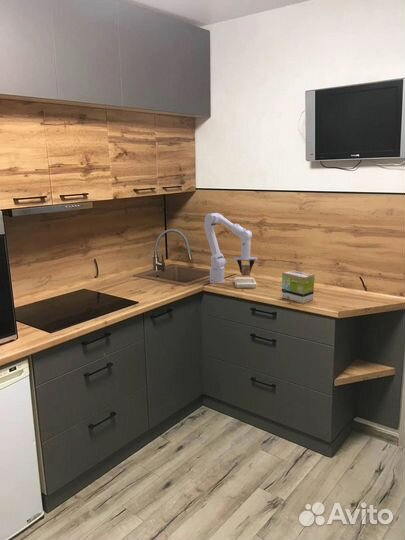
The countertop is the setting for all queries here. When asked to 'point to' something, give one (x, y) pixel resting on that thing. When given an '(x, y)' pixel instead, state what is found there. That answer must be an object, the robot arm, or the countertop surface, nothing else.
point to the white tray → (245, 282)
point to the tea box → (297, 286)
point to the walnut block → (245, 270)
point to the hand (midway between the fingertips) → (245, 272)
